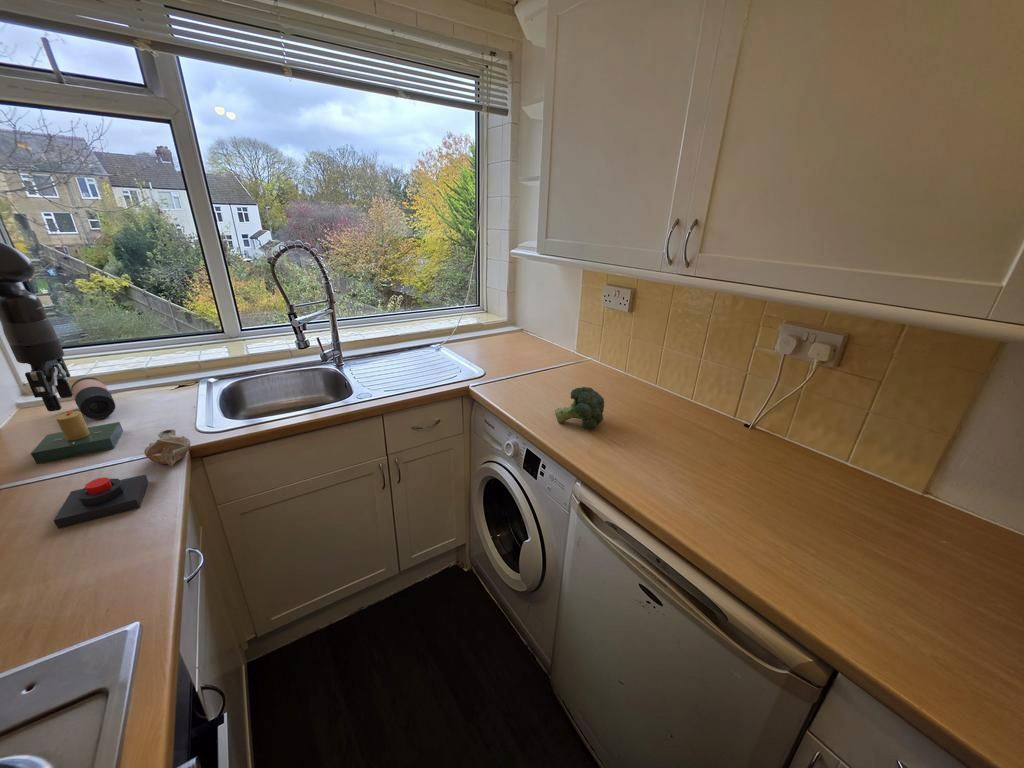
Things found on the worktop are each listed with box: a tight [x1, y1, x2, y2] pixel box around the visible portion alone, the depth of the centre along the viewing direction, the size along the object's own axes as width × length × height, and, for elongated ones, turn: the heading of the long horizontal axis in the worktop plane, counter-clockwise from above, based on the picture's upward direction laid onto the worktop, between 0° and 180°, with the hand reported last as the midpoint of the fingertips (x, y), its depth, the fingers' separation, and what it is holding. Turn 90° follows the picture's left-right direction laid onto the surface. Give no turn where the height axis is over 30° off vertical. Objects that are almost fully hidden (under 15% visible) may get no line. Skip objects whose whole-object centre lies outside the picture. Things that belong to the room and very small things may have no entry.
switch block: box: [53, 473, 150, 530], centre depth 83 cm, size 12×10×4 cm
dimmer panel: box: [30, 421, 124, 465], centre depth 103 cm, size 14×10×3 cm
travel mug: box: [70, 377, 116, 420], centre depth 121 cm, size 8×8×20 cm
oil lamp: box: [143, 429, 191, 467], centre depth 98 cm, size 9×21×10 cm, turn 39°
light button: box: [84, 476, 112, 495], centre depth 82 cm, size 4×4×2 cm
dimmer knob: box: [55, 410, 90, 441], centre depth 101 cm, size 4×4×6 cm
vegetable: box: [554, 386, 605, 431], centre depth 117 cm, size 12×13×15 cm
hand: (61, 403), depth 99 cm, fingers open, 8 cm apart
